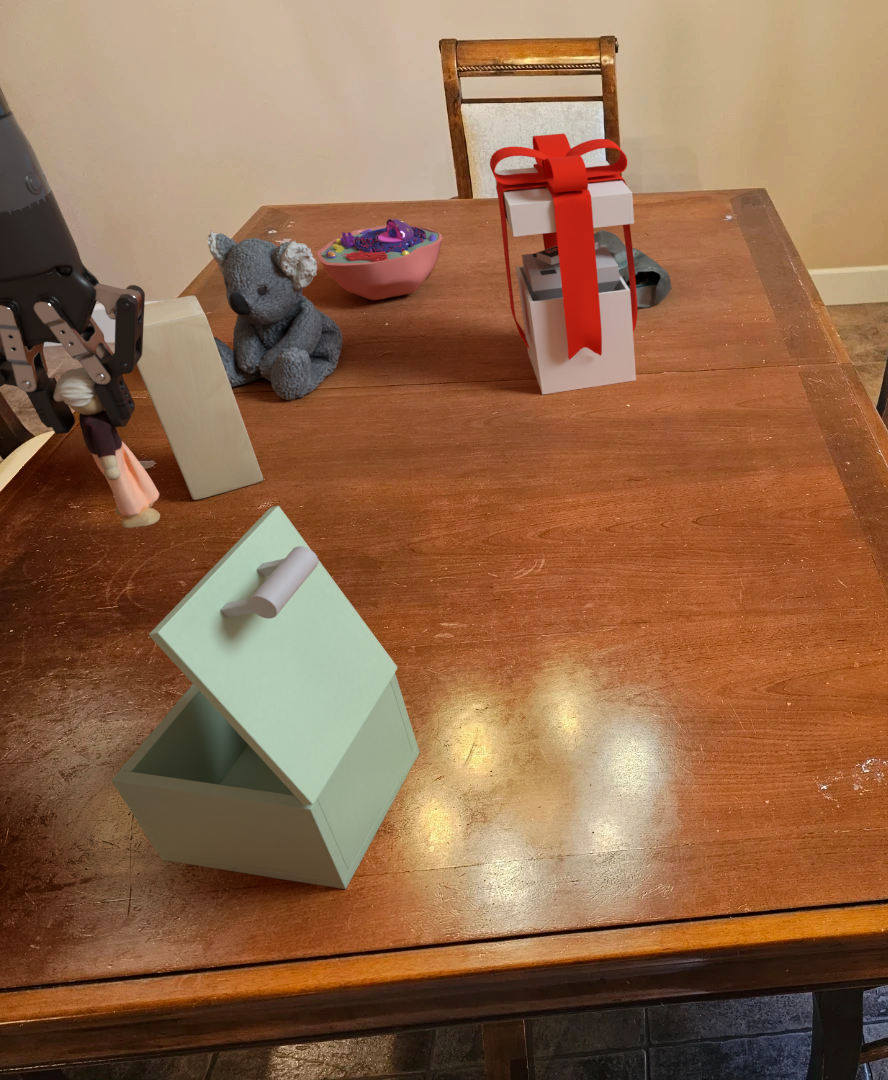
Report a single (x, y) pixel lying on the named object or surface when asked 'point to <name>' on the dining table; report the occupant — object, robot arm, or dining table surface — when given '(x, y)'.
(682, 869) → the dining table surface
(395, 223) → the cell model
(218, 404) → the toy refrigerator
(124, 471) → the grandmother figurine
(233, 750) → the compartment
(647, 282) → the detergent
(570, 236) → the white gift box
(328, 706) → the lid
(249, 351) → the koala plush
